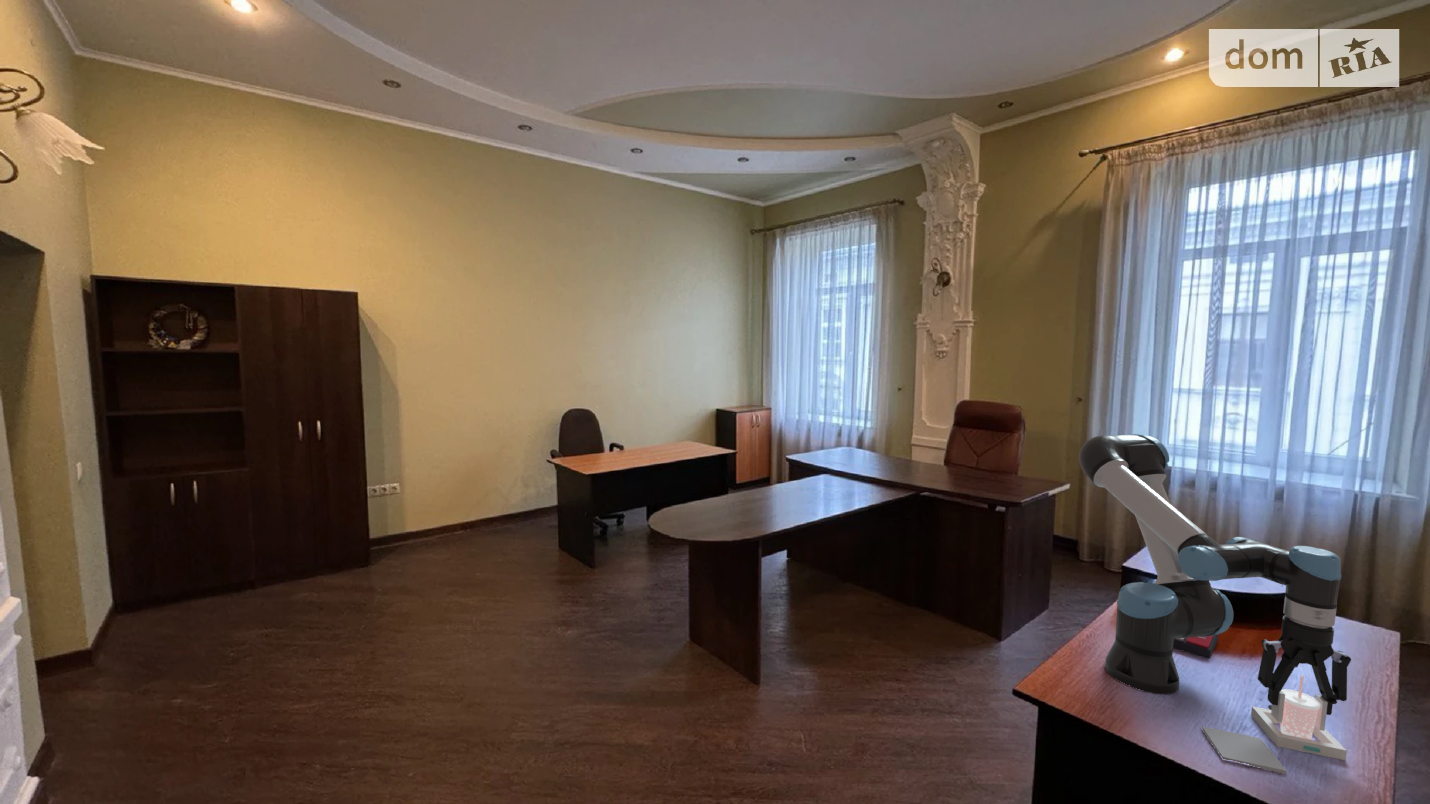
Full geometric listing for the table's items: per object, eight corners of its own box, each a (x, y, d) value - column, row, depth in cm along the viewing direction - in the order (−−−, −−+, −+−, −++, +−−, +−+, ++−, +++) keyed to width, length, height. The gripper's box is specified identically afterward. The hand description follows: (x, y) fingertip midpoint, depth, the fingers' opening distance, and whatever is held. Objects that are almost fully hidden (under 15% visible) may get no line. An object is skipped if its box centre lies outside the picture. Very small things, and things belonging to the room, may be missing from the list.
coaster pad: (1222, 760, 114) (1222, 756, 114) (1201, 729, 123) (1201, 726, 123) (1286, 774, 110) (1286, 770, 110) (1260, 741, 119) (1260, 738, 119)
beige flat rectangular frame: (1277, 747, 118) (1278, 737, 117) (1241, 703, 132) (1242, 694, 132) (1346, 761, 114) (1348, 751, 113) (1301, 714, 128) (1302, 705, 128)
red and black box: (1159, 632, 159) (1170, 613, 168) (1158, 646, 159) (1169, 626, 169) (1210, 647, 150) (1219, 626, 160) (1209, 662, 151) (1217, 640, 161)
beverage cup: (1323, 749, 117) (1330, 686, 116) (1285, 742, 119) (1291, 680, 118) (1305, 731, 123) (1311, 671, 121) (1269, 724, 125) (1275, 665, 123)
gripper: (1259, 620, 118) (1249, 721, 121) (1382, 638, 111) (1369, 745, 113) (1242, 605, 125) (1232, 701, 128) (1357, 621, 118) (1345, 723, 120)
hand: (1297, 722), depth 121 cm, fingers closed on beverage cup, 6 cm apart
